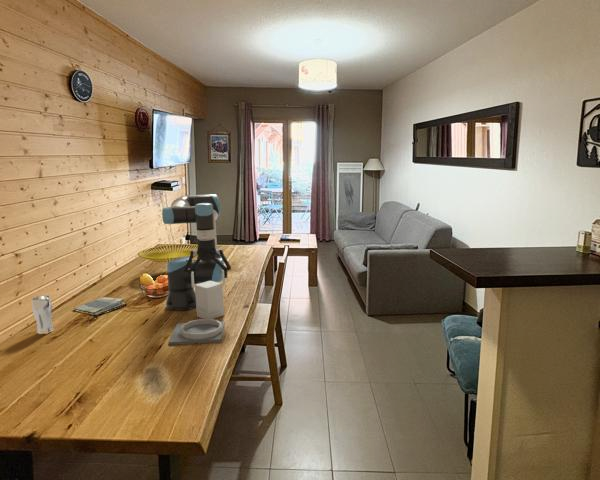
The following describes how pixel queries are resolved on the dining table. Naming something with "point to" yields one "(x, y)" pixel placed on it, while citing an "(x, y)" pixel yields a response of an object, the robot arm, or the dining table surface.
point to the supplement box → (209, 300)
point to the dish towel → (100, 305)
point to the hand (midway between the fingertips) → (208, 286)
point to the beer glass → (42, 313)
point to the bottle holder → (197, 332)
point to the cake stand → (167, 256)
